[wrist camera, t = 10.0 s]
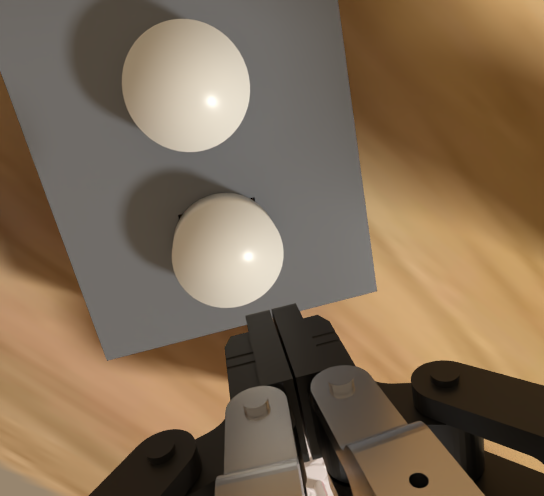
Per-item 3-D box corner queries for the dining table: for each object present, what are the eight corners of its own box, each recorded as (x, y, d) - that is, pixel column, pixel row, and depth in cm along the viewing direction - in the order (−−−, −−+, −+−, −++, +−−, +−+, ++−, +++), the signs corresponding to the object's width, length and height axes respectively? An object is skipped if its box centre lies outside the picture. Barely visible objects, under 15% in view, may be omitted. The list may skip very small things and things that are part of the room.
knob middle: (222, 32, 24) (235, 7, 17) (242, 126, 26) (261, 137, 19) (130, 51, 24) (104, 32, 17) (156, 145, 25) (142, 163, 18)
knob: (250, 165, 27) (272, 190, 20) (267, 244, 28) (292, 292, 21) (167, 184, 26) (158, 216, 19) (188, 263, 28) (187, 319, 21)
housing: (272, -190, 22) (299, -287, 17) (342, 254, 30) (376, 291, 24) (-30, -143, 21) (-111, -230, 15) (123, 308, 29) (106, 360, 23)
